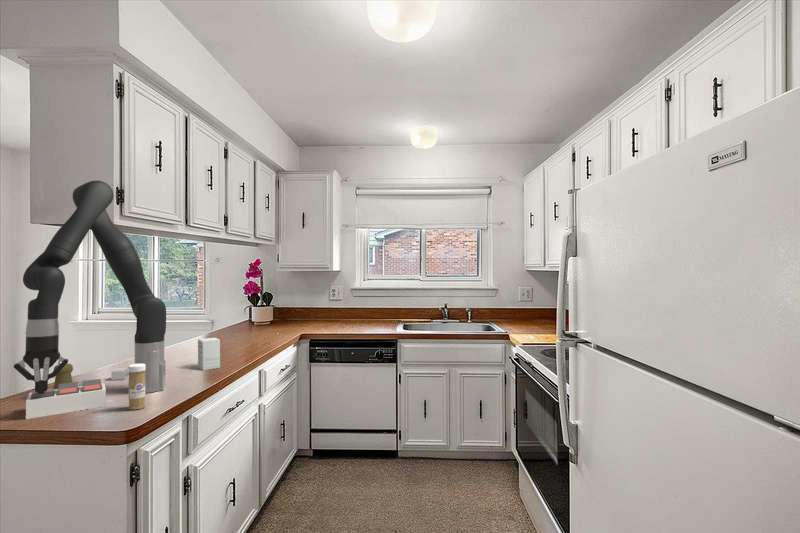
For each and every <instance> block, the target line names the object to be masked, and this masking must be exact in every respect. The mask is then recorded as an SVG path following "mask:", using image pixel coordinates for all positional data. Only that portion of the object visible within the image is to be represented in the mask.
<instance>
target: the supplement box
mask: <svg viewBox="0 0 800 533" xmlns="http://www.w3.org/2000/svg"><path fill="white" fill-rule="evenodd" d="M197 367H198V369H200V370H202V371H209V370H214V369H221V339H219V338H217V337H208V338H198V339H197Z"/></svg>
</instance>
